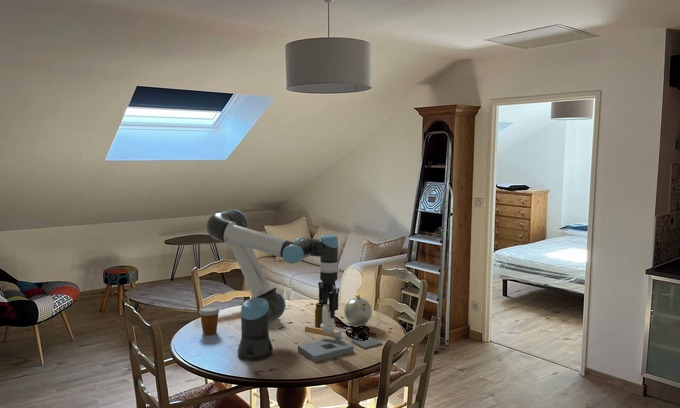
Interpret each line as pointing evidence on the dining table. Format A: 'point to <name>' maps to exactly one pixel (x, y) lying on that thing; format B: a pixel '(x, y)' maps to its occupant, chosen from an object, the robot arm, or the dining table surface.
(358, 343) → the pad
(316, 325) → the condiment
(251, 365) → the dining table surface
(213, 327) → the disposable coffee cup
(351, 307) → the teapot
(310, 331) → the orange rectangular bar
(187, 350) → the dining table surface
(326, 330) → the white tall cylinder
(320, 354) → the socket board
